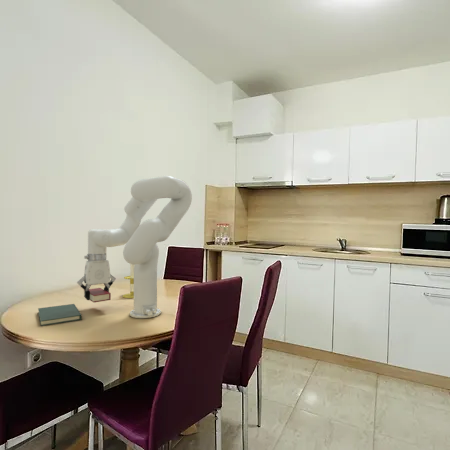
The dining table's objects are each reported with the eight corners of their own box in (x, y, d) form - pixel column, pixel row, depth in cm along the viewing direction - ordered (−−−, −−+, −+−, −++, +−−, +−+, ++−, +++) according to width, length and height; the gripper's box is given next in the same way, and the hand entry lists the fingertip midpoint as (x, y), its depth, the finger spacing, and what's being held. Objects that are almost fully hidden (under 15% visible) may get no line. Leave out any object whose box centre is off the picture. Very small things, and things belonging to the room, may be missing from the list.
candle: (118, 296, 167) (118, 244, 166) (133, 292, 175) (133, 243, 174) (131, 299, 161) (131, 245, 161) (146, 295, 169) (146, 244, 169)
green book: (81, 319, 128) (81, 314, 128) (40, 326, 120) (40, 320, 120) (74, 308, 145) (74, 303, 145) (38, 313, 137) (38, 308, 137)
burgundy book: (110, 299, 138) (110, 292, 138) (93, 302, 133) (93, 295, 133) (99, 294, 148) (99, 287, 148) (83, 296, 143) (83, 289, 143)
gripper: (78, 260, 132) (78, 303, 132) (120, 257, 143) (119, 296, 143) (73, 258, 137) (73, 299, 138) (113, 255, 149) (113, 293, 149)
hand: (97, 297), depth 141 cm, fingers closed on burgundy book, 7 cm apart
